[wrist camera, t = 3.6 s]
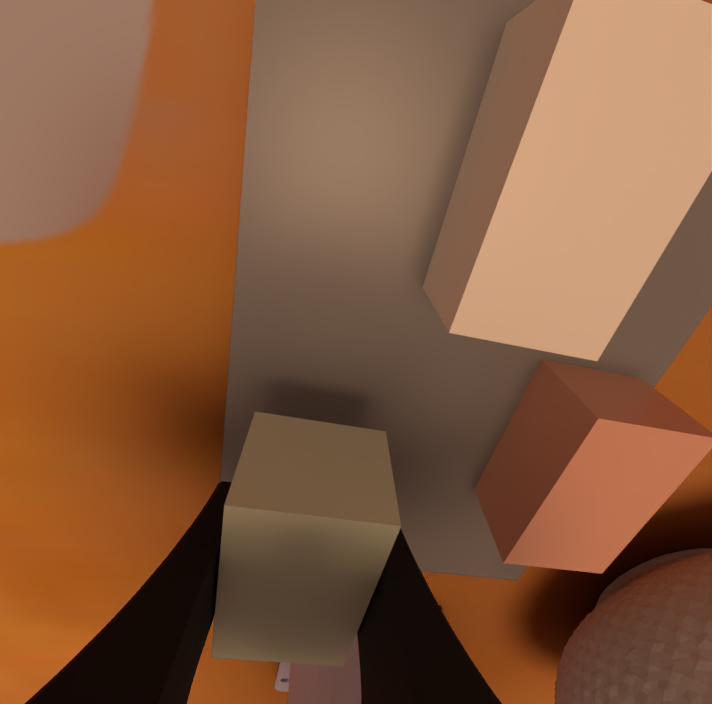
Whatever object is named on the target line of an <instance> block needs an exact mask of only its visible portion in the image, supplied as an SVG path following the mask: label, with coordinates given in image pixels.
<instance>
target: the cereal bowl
mask: <svg viewBox="0 0 712 704" xmlns="http://www.w3.org/2000/svg"><path fill="white" fill-rule="evenodd" d="M555 704H712V548H698V549H689V550H683V551H678V552H674V553H669V554H665V555H662V556H659V557H656V558H653V559H651V560H649V561H646V562H644V563H641V564H639V565H638V566H636V567H634V568H632V569H630V570H628V571H627V572H625V573H624V574H622V575H621V576H619V577H617V578H616V579H615V580H614V581H613V582H612V583H611V584H609V585H608V586H607V587H606V589H605V590H604V591H603V592H602V594H601V595H600V597H599V599H598V601H597V604H596V607H595V608H594V610H593V611H592V612H591V613H589V614H587V616H586V617H585V619H584V620H583V621H582V622H580V624H579V626H578V627H577V628H576V629H575V630H574V632H573V635H572V636H571V637H570V638H569V640H568V643H567V644H566V646H565V647H564V650H563V654H562V656H561V658H560V663H559V666H558V669H557V679H556V682H555Z"/></svg>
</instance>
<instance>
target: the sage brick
mask: <svg viewBox="0 0 712 704" xmlns="http://www.w3.org/2000/svg"><path fill="white" fill-rule="evenodd" d="M400 528H401V522H400V516H399V510H398V503H397V497H396V491H395V485H394V479H393V472H392V466H391V460H390V454H389V448H388V441H387V435H386V431H380V430H373V429H367V428H360V427H353V426H347V425H340V424H334V423H327V422H321V421H314V420H307V419H301V418H294V417H288V416H281V415H275V414H268V413H262V412H255V413H254V416H253V419H252V422H251V425H250V428H249V431H248V434H247V438H246V441H245V444H244V447H243V450H242V453H241V456H240V459H239V462H238V465H237V468H236V471H235V474H234V477H233V480H232V483H231V486H230V489H229V492H228V495H227V498H226V501H225V504H224V513H223V525H222V537H221V548H220V560H219V571H218V583H217V595H216V606H215V618H214V630H213V641H212V653H211V658H220V659H236V660H251V661H266V662H282V663H297V664H313V665H328V666H343V665H344V663H345V660H346V658H347V656H348V653H349V651H350V648H351V646H352V644H353V641H354V639H355V636H356V634H357V632H358V629H359V627H360V624H361V622H362V620H363V617H364V615H365V612H366V610H367V607H368V605H369V603H370V600H371V598H372V595H373V593H374V591H375V588H376V586H377V583H378V581H379V579H380V576H381V574H382V571H383V569H384V567H385V564H386V562H387V559H388V557H389V554H390V552H391V550H392V547H393V545H394V542H395V540H396V538H397V535H398V533H399V530H400Z"/></svg>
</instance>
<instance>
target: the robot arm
mask: <svg viewBox="0 0 712 704" xmlns="http://www.w3.org/2000/svg"><path fill="white" fill-rule="evenodd" d="M231 483H232V482H226V481H222V482H220V483H218V485H217V487H216V489H215V490H214V492H213V494H212V495H211V497H210V499H209V500H208V502H207V503H206V505H205V506H204V508H203V509H202V511H201V512H200V514H199V515H198V517H197V518H196V519H195V521H194V522H193V524H192V525H191V526H190V528H189V529H188V530H187V532H186V533H185V534H184V536H183V537H182V538H181V540H180V541H179V542H178V543H177V545H176V546H175V547H174V549H173V550H172V551H171V552H170V554H169V555H168V556H167V557H166V559H165V560H164V561H163V562H162V563H161V565H160V566H159V567H158V568H157V569H156V571H155V572H154V573H153V574H152V575H151V576H150V578H149V579H148V580H147V581H146V582H145V584H144V585H143V586H142V587H141V588H140V589H139V590H138V592H137V593H136V594H135V595H134V596H133V597H132V598H131V599H130V600H129V602H128V603H127V604H126V605H125V606H124V607H123V608H122V609H121V610H120V611H119V612H118V613H117V614H116V616H115V617H114V618H113V619H112V620H111V621H110V622H109V623H108V624H107V625H106V626H105V627H104V628H103V629H102V630H101V631H100V632H99V633H98V634H97V635H96V636H95V637H94V638H93V639H92V640H91V641H90V642H89V643H88V644H87V645H86V646H85V647H84V648H83V649H82V650H81V651H80V652H79V653H78V654H77V655H76V656H75V657H74V658H73V659H72V660H71V661H70V662H69V663H68V664H67V665H66V666H65V667H64V668H63V669H62V670H61V671H60V672H59V673H58V674H57V675H56V676H54V677H53V678H52V679H51V680H50V681H49V682H48V683H47V684H46V685H45V686H44V687H43V688H41V689H40V690H39V691H38V692H37V693H36V694H35V695H34V696H33V697H32V698H30V699H29V700H28V701H27V702H26V703H25V704H187V700H188V696H189V693H190V689H191V685H192V682H193V678H194V675H195V672H196V668H197V665H198V662H199V659H200V656H201V653H202V650H203V647H204V644H205V641H206V638H207V635H208V632H209V630H210V627H211V624H212V621H213V618H214V615H215V606H216V595H217V583H218V571H219V560H220V548H221V537H222V525H223V513H224V504H225V501H226V498H227V495H228V492H229V489H230V486H231ZM274 687H275V689H276V690H278V691H284V692H288V697H287V704H501V702H500V701H499V699H498V698H497V697H496V695H495V694H494V693H493V691H492V690H491V688H490V687H489V686H488V684H487V683H486V681H485V680H484V678H483V677H482V675H481V674H480V672H479V671H478V669H477V668H476V666H475V665H474V663H473V662H472V660H471V659H470V657H469V656H468V654H467V652H466V651H465V649H464V648H463V646H462V644H461V643H460V641H459V640H458V638H457V636H456V635H455V633H454V631H453V630H452V628H451V626H450V625H449V623H448V621H447V619H446V618H445V616H444V613H443V611H441V609H440V607H439V605H438V603H437V602H436V600H435V598H434V596H433V594H432V592H431V590H430V589H429V587H428V585H427V583H426V581H425V579H424V577H423V575H422V573H421V571H420V569H419V567H418V565H417V563H416V561H415V558H414V556H413V554H412V552H411V550H410V548H409V545H408V543H407V541H406V539H405V537H404V534H403V532H402V530H401V528H400V530H399V533H398V535H397V538H396V540H395V542H394V545H393V547H392V550H391V552H390V554H389V557H388V559H387V562H386V564H385V567H384V569H383V571H382V574H381V576H380V579H379V581H378V583H377V586H376V588H375V591H374V593H373V595H372V598H371V600H370V603H369V605H368V607H367V610H366V612H365V615H364V617H363V620H362V622H361V624H360V627H359V629H358V632H357V634H356V636H355V639H354V641H353V644H352V646H351V648H350V651H349V653H348V656H347V658H346V660H345V663H344V665H343V666H328V665H313V664H297V663H282V662H280V663H279V667H278V671H277V675H276V679H275V685H274Z"/></svg>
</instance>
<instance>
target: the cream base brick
mask: <svg viewBox="0 0 712 704" xmlns="http://www.w3.org/2000/svg"><path fill="white" fill-rule="evenodd" d="M711 172H712V4H710V3H707V2H704V1H701V0H535V1H534V2H533V3H532V4H530V5H529V6H528V7H526V8H525V9H524V10H522V11H521V12H520V13H518V14H517V15H516V16H514V17H513V18H512V19H510V20H509V21H508V22H507V23H506V26H505V29H504V32H503V35H502V38H501V42H500V45H499V48H498V51H497V54H496V57H495V60H494V64H493V67H492V70H491V73H490V76H489V79H488V82H487V86H486V89H485V92H484V95H483V98H482V101H481V104H480V108H479V111H478V114H477V117H476V120H475V123H474V127H473V130H472V133H471V136H470V139H469V142H468V145H467V149H466V152H465V155H464V158H463V161H462V164H461V167H460V171H459V174H458V177H457V180H456V183H455V186H454V190H453V193H452V196H451V199H450V202H449V205H448V208H447V212H446V215H445V218H444V221H443V224H442V227H441V230H440V234H439V237H438V240H437V243H436V246H435V249H434V253H433V256H432V259H431V262H430V265H429V268H428V271H427V275H426V278H425V281H424V284H423V287H422V288H423V289H424V291H425V293H426V295H427V296H428V298H429V300H430V301H431V303H432V305H433V306H434V308H435V310H436V312H437V313H438V315H439V317H440V318H441V320H442V322H443V323H444V325H445V327H446V329H447V330H448V332H449V333H452V334H458V335H463V336H468V337H473V338H478V339H484V340H489V341H494V342H499V343H504V344H510V345H515V346H520V347H525V348H530V349H536V350H541V351H546V352H551V353H556V354H562V355H567V356H572V357H577V358H582V359H588V360H593V361H598V359H599V358H600V356H601V354H602V353H603V351H604V349H605V348H606V346H607V344H608V343H609V341H610V339H611V338H612V336H613V334H614V333H615V331H616V329H617V328H618V326H619V324H620V323H621V321H622V319H623V318H624V316H625V314H626V313H627V311H628V309H629V308H630V306H631V304H632V303H633V301H634V299H635V298H636V296H637V294H638V293H639V291H640V289H641V288H642V286H643V285H644V283H645V281H646V280H647V278H648V276H649V275H650V273H651V271H652V270H653V268H654V266H655V265H656V263H657V261H658V260H659V258H660V256H661V255H662V253H663V251H664V250H665V248H666V246H667V245H668V243H669V241H670V240H671V238H672V236H673V235H674V233H675V231H676V230H677V228H678V226H679V225H680V223H681V221H682V220H683V218H684V216H685V215H686V213H687V211H688V210H689V208H690V206H691V205H692V203H693V201H694V200H695V198H696V196H697V195H698V193H699V191H700V190H701V188H702V187H703V185H704V183H705V182H706V180H707V178H708V177H709V175H710V173H711Z"/></svg>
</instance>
